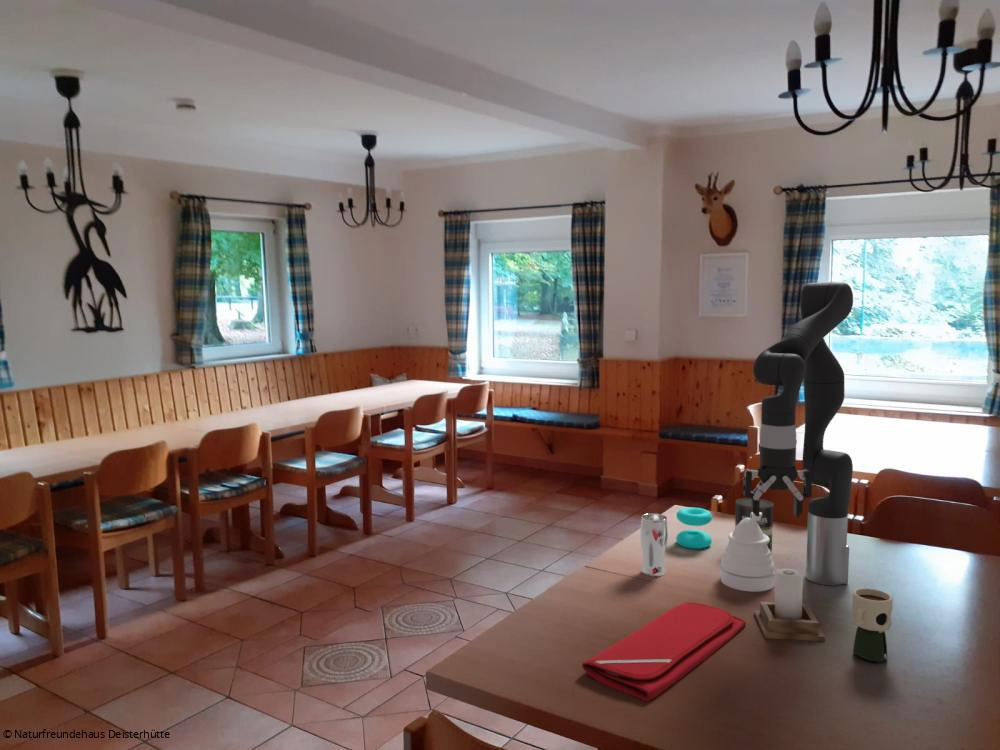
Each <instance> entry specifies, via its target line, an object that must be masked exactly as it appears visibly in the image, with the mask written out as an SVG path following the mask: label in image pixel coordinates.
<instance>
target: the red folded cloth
mask: <svg viewBox="0 0 1000 750" xmlns="http://www.w3.org/2000/svg"><path fill="white" fill-rule="evenodd" d="M746 624H747V623H746V621H745V620H744V619H742V618H740V617H738V616H736V615H735V616H734V615H732V614H731V613H730V612H728V611H726V610H724V609H721V608H718V607H716V606H715V607H714V606H710V605H707V604H704V603H702V604H701V603H696V602H683V603H681V604H677V605H676V606H674V607H672V608H670V609H668V610H667V611H666V612H664V613H662V614H661V615H660V616H657V617H656V618H654V619H653V620H651V621H650V622H648V623H646V624H645V625H643V626H642V627H640V628H639V629H637V630H635V631H634V632H632V633H630V634H629V635H627V636H626V637H624V638H622V639H621V640H619V641H618V642H615V644H612V645H611V646H609V647H608V648H606V649H604V650H602V651H601V652H599V653H597V654H595V655H594V656H592V657H591V658H590V657H589V659H588V660H585V661H583V663H582V665H581V666H582V669H583V670H584V671H585V673H586V674H588V676H590V677H591V678H592V679H594V680H596V681H597V682H599V683H601V684H603V685H606V686H608V687H611V688H613V689H614V690H615V689H616V690H618V691H621V692H624V693H625V694H629V695H631V696H633V697H636V698H638V699H641V700H643V701H645V702H649V701H651V700H653V699H656V697H657V696H658V695H660V694H661V693H663V692H665V690H667V689H668V688H670V687H671V686H672V685H674V684H676V683H677V682H678V681H679V680H681V679H682V678H683V677H685V676H686V675H687V674H689V673H690V672H691V671H693V669H695V668H696V667H697V666H698V665H699V664H701V663H702V662H704V661H705V660H707V659H708V658H709V657H710V656H711V655H712V654H714V653H715V652H716V651H717V650H719V649H720V648H721V647H722V646H723V645H724V644H726V643H727V642H729V641H730V640H732V638H733V637H734V636H736V634H738V633H739V632H740V631H741V630H742V629H743V628H745V626H746Z"/></svg>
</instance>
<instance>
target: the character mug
mask: <svg viewBox="0 0 1000 750" xmlns="http://www.w3.org/2000/svg"><path fill="white" fill-rule="evenodd" d="M893 602H894V601H893V597H892V595H891V594H890V593H888V592H886V591H884V590H881V589H877V588H871V587H859V588H855V589H854V590H853V591H852V603H851V604H852V606H851V607H852V611H851V619H852V623H853V624H854V625H855V626H857V628H856V632H855V637H854V643H853V649H852V652H853V653H854V654H855V655H857V656H859V657H860V658H863V659H865V660H867V661H870V662H871V661H872V662H884V661H885V655H886V659H888V645H887V635H886V632H887V631H889V630H890V629H891V627H892V624H893V621H892V618H891V617H892V612H893Z"/></svg>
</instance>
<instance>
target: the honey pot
mask: <svg viewBox="0 0 1000 750" xmlns="http://www.w3.org/2000/svg"><path fill="white" fill-rule="evenodd" d="M751 514H752V517H753V518H745V519H743V520H742V521H740V523H739V524H738V525H737V527H736V528H735V527H734V530H733V531H731V532H729V534H728V535H727V538H728V544H727V545H726V546H725V551H724V552H723V555H722V557H721V560H720V562H721V563H720V581H721V582H722V584H723V585H725V586H726V587H728V588H732V589H735V590H739V591H745V592H756V593H757V592H766V591H768V590H771V589H772V588H774V587H775V563H774V561H773V556H772V554H771V555H770V553H771V552H770V550H769V549H768V546H767V543H769V541H770V539H769V537H768V536H767V535H765V534H763V533H762V531H761V529H760V527H759V525H758V524H757V523H756V521H758V520H760V519H761V517H762V513H761V512H759V516H755V515H754V514H753V512H751Z"/></svg>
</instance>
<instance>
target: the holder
mask: <svg viewBox="0 0 1000 750" xmlns="http://www.w3.org/2000/svg"><path fill="white" fill-rule="evenodd" d="M753 615H754V617H755V619H756V621H757V623H758V626H759V627H760V630H761V632H762V634H763V636H764V638H765V639H774V640H775V639H776V640H792V641H793V640H797V641H813V642H814V641H815V642H825V641H826V636H825V634H824V633H823V631H822V630H821V628H820V622H819V621H818V619H817V617H816V616H815V615H814V613H813V612H812V610H811V608H810V607H809V605H808V604H807V603H802V620H795V619H775V601H773V602H772V601H759V610H758V609H757V610H754V613H753Z"/></svg>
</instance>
